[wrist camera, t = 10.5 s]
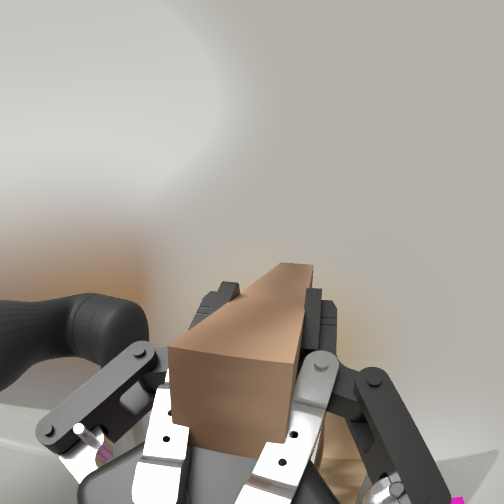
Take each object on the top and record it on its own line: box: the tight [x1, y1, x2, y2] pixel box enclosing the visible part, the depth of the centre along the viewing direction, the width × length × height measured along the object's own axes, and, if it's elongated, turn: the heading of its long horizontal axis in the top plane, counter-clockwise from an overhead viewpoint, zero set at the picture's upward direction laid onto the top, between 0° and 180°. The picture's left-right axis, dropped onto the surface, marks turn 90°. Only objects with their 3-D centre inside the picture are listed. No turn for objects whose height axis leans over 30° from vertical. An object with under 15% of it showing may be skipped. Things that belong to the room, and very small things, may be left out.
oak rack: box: [314, 412, 367, 504], centre depth 31 cm, size 16×10×34 cm, turn 77°
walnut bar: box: [167, 263, 313, 459], centre depth 19 cm, size 3×24×3 cm, turn 168°
